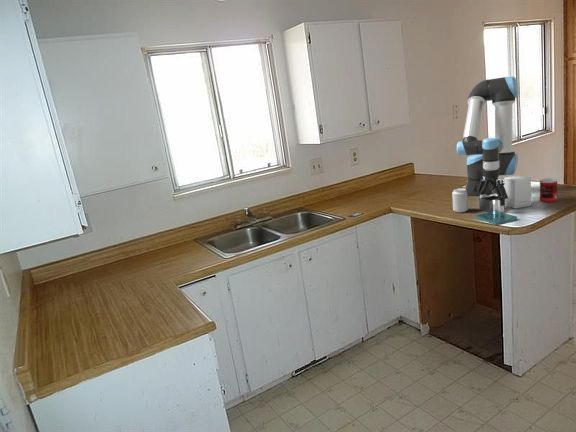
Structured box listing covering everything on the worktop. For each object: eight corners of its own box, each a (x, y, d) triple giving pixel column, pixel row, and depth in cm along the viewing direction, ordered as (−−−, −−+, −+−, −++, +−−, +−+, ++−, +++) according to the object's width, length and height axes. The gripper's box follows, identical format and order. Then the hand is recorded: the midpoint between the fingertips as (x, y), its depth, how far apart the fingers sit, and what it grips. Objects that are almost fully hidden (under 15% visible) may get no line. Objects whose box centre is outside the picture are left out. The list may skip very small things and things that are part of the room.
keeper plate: (475, 218, 212) (475, 199, 210) (496, 213, 215) (496, 195, 212) (495, 224, 199) (494, 205, 197) (517, 219, 201) (517, 200, 199)
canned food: (552, 197, 225) (552, 177, 222) (560, 201, 217) (560, 180, 215) (536, 199, 226) (537, 179, 223) (544, 203, 218) (544, 182, 216)
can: (450, 210, 230) (449, 189, 227) (464, 208, 231) (463, 186, 228) (457, 213, 223) (456, 191, 220) (470, 211, 223) (470, 189, 220)
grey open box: (479, 209, 225) (479, 198, 223) (494, 206, 226) (494, 195, 225) (489, 212, 217) (489, 201, 216) (505, 209, 219) (504, 197, 217)
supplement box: (531, 206, 217) (531, 177, 213) (514, 209, 217) (514, 180, 213) (520, 202, 226) (520, 174, 222) (504, 205, 226) (503, 177, 222)
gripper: (469, 167, 227) (470, 205, 233) (502, 173, 204) (502, 215, 209) (481, 164, 229) (482, 202, 234) (515, 170, 205) (515, 212, 211)
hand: (492, 209), depth 222 cm, fingers open, 13 cm apart
